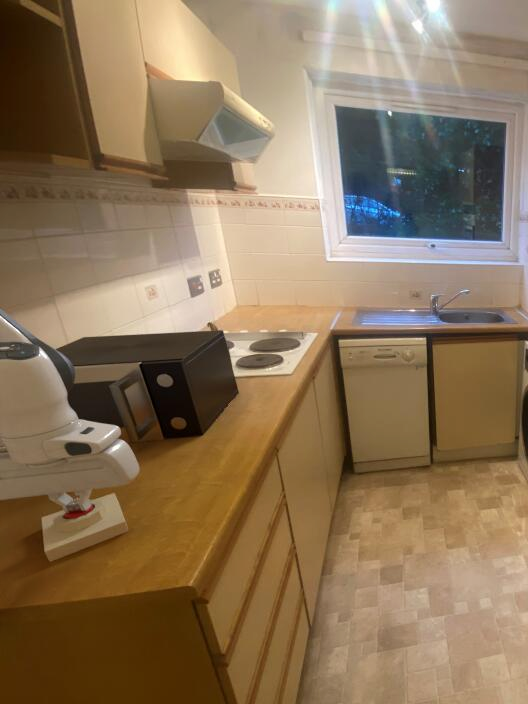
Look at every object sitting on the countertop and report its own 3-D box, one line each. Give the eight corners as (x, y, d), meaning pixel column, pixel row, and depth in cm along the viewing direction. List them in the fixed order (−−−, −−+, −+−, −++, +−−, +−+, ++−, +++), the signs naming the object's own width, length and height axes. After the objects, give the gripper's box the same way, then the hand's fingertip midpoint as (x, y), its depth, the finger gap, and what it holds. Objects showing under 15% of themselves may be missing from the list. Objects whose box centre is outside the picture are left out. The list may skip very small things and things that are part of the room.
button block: (46, 527, 78) (36, 509, 76) (118, 501, 84) (111, 484, 83) (49, 562, 70) (39, 543, 69) (129, 531, 77) (121, 513, 75)
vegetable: (236, 377, 145) (221, 319, 138) (237, 381, 142) (222, 321, 134) (220, 379, 143) (205, 320, 136) (221, 384, 140) (205, 323, 132)
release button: (67, 518, 76) (63, 510, 76) (94, 508, 79) (91, 501, 78) (69, 528, 74) (65, 519, 73) (97, 518, 76) (93, 510, 76)
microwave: (201, 437, 108) (179, 361, 100) (36, 453, 100) (-3, 373, 93) (239, 393, 133) (223, 330, 126) (109, 403, 126) (83, 337, 118)
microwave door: (151, 451, 101) (123, 373, 94) (17, 465, 95) (-24, 383, 88) (167, 436, 108) (142, 362, 100) (42, 448, 102) (6, 370, 95)
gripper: (-52, 459, 65) (-10, 531, 70) (108, 443, 70) (136, 512, 75) (-16, 438, 71) (20, 507, 76) (130, 425, 75) (154, 491, 81)
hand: (79, 509), depth 76 cm, fingers closed, pressing on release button
